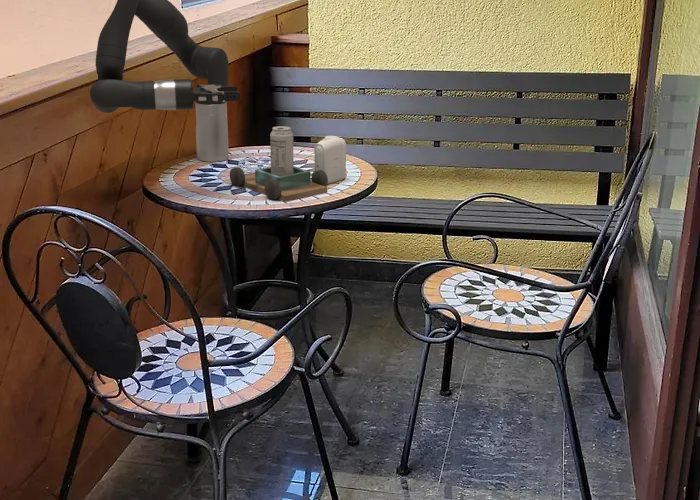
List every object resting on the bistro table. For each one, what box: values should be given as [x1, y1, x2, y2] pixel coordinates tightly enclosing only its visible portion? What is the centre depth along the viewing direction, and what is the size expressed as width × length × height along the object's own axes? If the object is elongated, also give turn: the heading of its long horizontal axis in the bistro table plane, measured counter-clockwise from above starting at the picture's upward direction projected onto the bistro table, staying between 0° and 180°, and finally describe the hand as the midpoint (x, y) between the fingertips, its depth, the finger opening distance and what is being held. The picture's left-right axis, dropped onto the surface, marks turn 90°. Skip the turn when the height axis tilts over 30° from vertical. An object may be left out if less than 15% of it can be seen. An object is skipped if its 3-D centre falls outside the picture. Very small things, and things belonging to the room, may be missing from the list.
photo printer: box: [314, 136, 347, 185], centre depth 223 cm, size 10×4×12 cm, turn 140°
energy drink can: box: [269, 125, 295, 177], centre depth 214 cm, size 6×6×15 cm
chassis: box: [229, 166, 328, 203], centre depth 218 cm, size 24×17×5 cm
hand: (238, 93), depth 206 cm, fingers open, 8 cm apart
